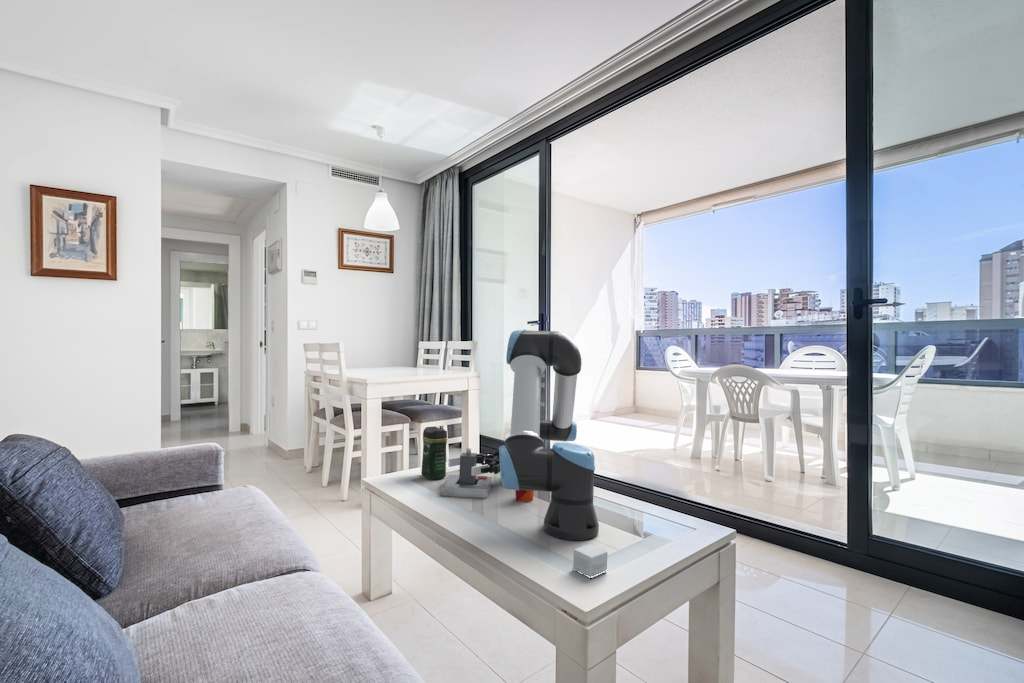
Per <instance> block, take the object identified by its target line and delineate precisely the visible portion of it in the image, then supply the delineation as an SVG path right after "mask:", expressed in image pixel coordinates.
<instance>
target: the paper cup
mask: <svg viewBox="0 0 1024 683" xmlns="http://www.w3.org/2000/svg"><path fill="white" fill-rule="evenodd" d="M515 500H516V501H518V502H519V503H520V502H521V503H530V502H532V501H533V500H534V491H530V490H519V491H517V490H515Z"/></svg>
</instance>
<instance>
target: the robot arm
mask: <svg viewBox="0 0 1024 683" xmlns="http://www.w3.org/2000/svg"><path fill="white" fill-rule="evenodd" d="M505 357H506V364H507V365H509V367H510V369H511V371H512V372H513V374H514V377H513V378H514V379H513V389H512V390H513V391H512V402H511V403H512V404H511V406H512V407H511V420H510V434H509V436H507V438H506V439H504V443H503V444H504V445H503V444H502V445H501V446H499V447H498V449H497V450H496V451H495V452H494V454H488V453H486V452H485V453H477V463H476V466H475V467H472V470H471V475H472V476H474V475H476V476H480V475H483V474H484V475H485V474H492V473H493V474H494V475H497V474H499V473H500V484H501V486H502V487H503V488H504V489H506V490H514V491H516V490H517V491H519V490H530V491H535V492H537V491H538V492H550V494H551V496H550V502H549V506H548V507H547V511H546V514H545V515H544V519H543V530H544V531H545V532H546V533H547V534H548V535H550V536H553V537H555V538H557V539H562V540H568V541H587V540H591V539H593V537H594V538H595V536H596V537H597V536H598V535H599V533H598V532H599V528H600V527H599V526H600V525H599V519H598V516H597V513H596V509H595V506H594V490H595V489H594V485H595V483H594V482H595V470H596V466H595V454H594V452H593V450H591V449H589V448H587V447H585V446H582V445H580V444H579V445H578V444H574V443H569V442H574V441H576V439H577V434H578V433H577V432H578V430H577V429H578V424H577V422H576V421H573V420H574V418H573V417H574V410H575V400H576V399H575V398H576V392H577V391H576V389H577V380H578V375H579V374H580V372H581V370H582V356H581V353H580V349H579V348H578V346H577V344H576V343H575V341H574V340H573V339H572V338H571V337H570V336H569V335H567V334H566V333H563V332H562V331H556V330H553V331H552V330H551V331H549V330H528V329H527V330H526V329H517V330H514V331H512V332H511V333H510V336H509V338H508V342H507V350H506V356H505ZM547 367H552V369H553V371H554V374H555V375H554V388H553V400H552V402H553V404H552V416H551V419H550V420H549V419H548V420H547V419H541V400H542V399H541V398H542V397H541V396H542V395H541V394H542V392H541V391H542V390H541V389H542V374H543V373H544V372H545V371H546V369H547ZM545 441H554V443H553V445H552V448H549V447H548V448H546V447H545ZM447 463H448V467H450V468H451V467H455V466H460V456H457V457H456V456H455V457H452V458H451V457H450V458H448V462H447ZM478 464H479V465H478ZM597 534H598V535H597ZM590 538H591V539H590ZM585 539H586V540H585Z"/></svg>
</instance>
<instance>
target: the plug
mask: <svg viewBox="0 0 1024 683" xmlns="http://www.w3.org/2000/svg"><path fill="white" fill-rule="evenodd" d="M465 450H466V452H461V454H460V455H459V457H460V465H459V474H458V475H459V484H466V485H476V476H477V475H474V476H472V475H471V470H472V467H475V466H477V464H476V463H477V454H478V453H477V452H472V448H470V447H468V448H466V449H465Z"/></svg>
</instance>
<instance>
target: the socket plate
mask: <svg viewBox="0 0 1024 683" xmlns="http://www.w3.org/2000/svg"><path fill="white" fill-rule="evenodd" d="M492 477H493V476H487V475H476V485H466V484H459V474H449V476H447V478H446V479H445V481H444V482H443V484H442V485H441V487H440V497H451V498H452V497H453V496H454V498H455V497H456V498H457V497H458V498H469V497H471V498H472V499H487V498H488V495H489V492H490V490H489V489H491V486H492Z"/></svg>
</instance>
